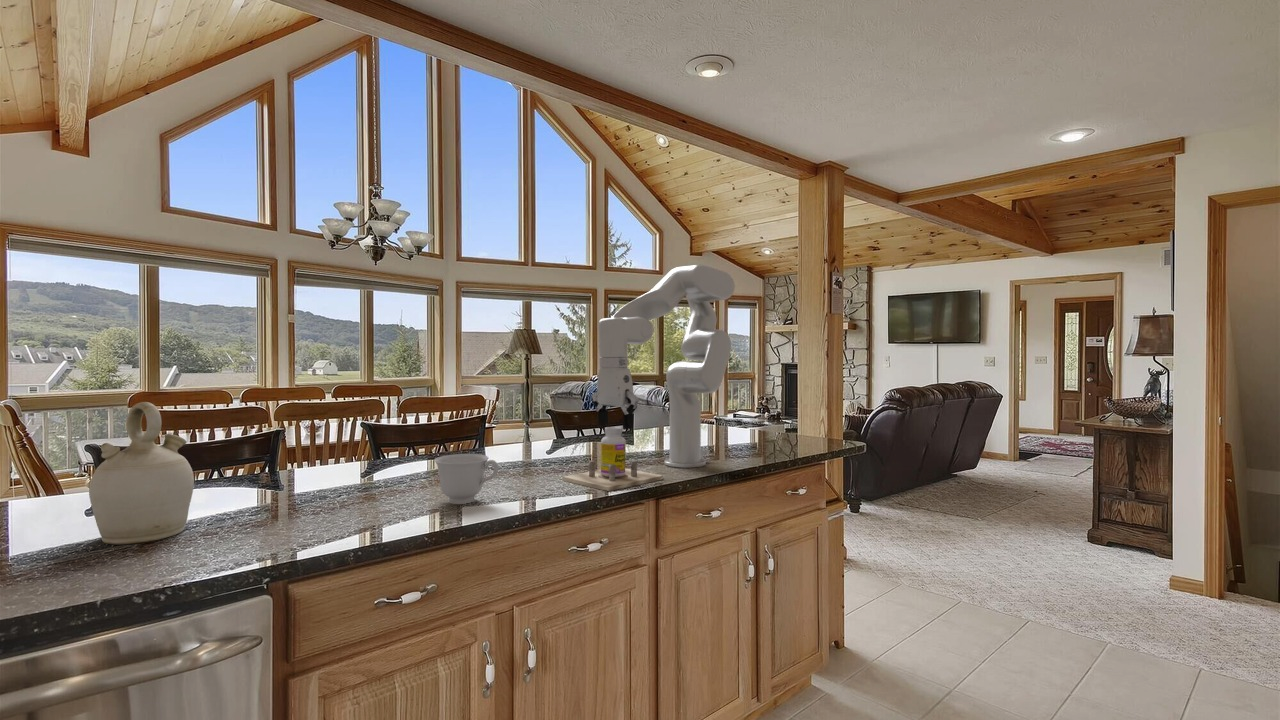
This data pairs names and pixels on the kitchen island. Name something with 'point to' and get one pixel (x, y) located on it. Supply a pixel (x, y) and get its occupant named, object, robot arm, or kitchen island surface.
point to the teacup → (463, 475)
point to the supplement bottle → (613, 451)
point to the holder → (612, 478)
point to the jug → (142, 484)
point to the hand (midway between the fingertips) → (615, 427)
